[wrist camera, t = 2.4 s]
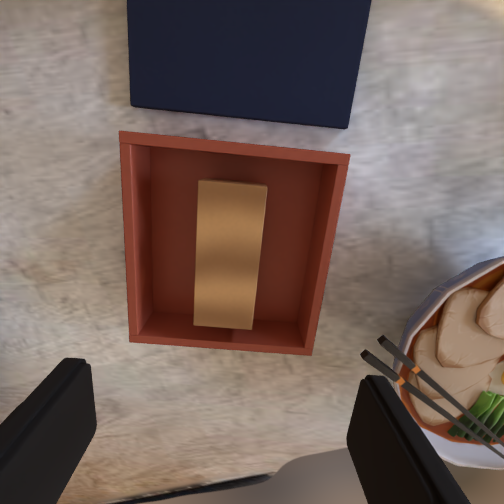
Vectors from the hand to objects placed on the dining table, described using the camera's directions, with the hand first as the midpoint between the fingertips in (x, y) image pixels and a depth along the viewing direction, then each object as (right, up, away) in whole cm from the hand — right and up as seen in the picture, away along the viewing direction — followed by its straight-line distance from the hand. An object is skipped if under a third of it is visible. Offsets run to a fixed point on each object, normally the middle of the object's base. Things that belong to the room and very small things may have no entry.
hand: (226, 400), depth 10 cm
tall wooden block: (-1, +6, +17) cm, 18 cm away
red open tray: (-1, +6, +17) cm, 19 cm away
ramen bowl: (+24, -3, +21) cm, 32 cm away
